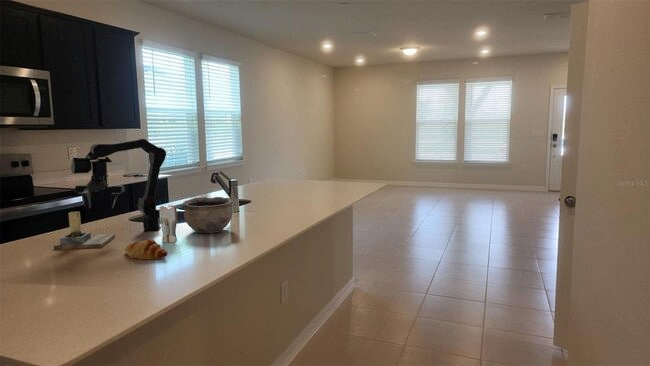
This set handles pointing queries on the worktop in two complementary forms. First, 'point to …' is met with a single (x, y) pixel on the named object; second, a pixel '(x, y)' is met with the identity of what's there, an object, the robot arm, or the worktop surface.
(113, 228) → the worktop surface
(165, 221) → the beer glass
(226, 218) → the ceramic bowl
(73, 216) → the pale yellow drinking glass
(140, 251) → the croissant
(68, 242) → the plate
